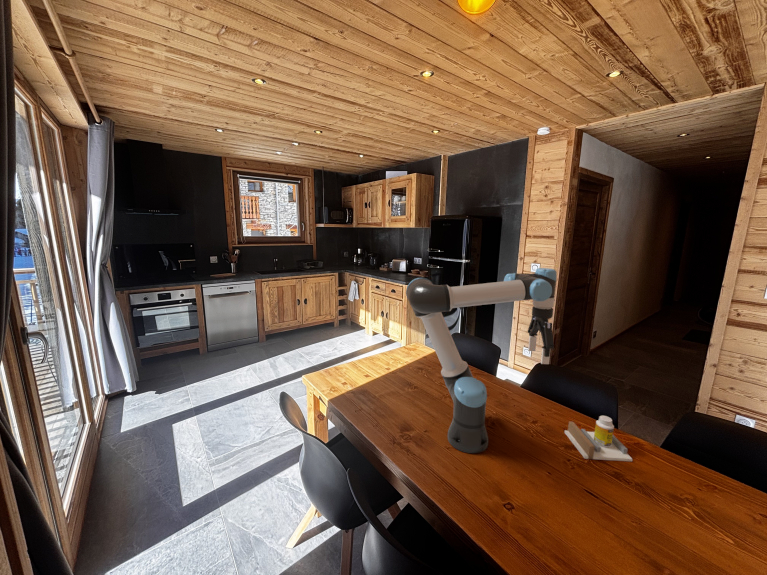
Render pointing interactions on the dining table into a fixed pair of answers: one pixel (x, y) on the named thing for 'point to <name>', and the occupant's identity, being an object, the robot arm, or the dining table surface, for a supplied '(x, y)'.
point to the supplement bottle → (604, 431)
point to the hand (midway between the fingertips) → (538, 357)
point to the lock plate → (596, 445)
